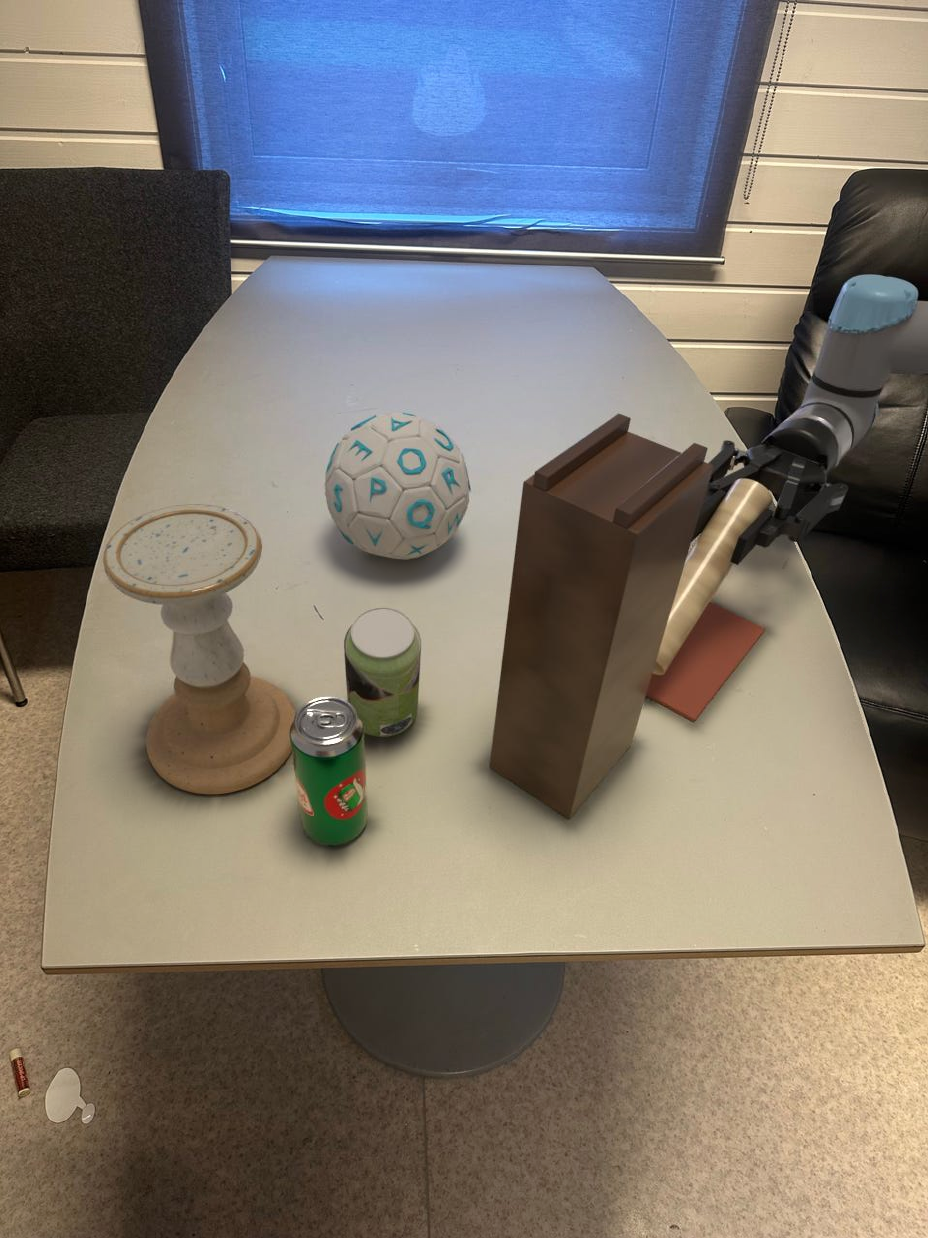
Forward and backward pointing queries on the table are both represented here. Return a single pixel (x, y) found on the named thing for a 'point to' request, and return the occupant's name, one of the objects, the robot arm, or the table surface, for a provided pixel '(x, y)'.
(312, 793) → the soda can
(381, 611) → the beverage can
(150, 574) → the candle holder
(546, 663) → the stand
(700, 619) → the mat
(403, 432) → the puzzle ball
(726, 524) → the wooden dowel rod
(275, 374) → the table surface
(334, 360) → the table surface
